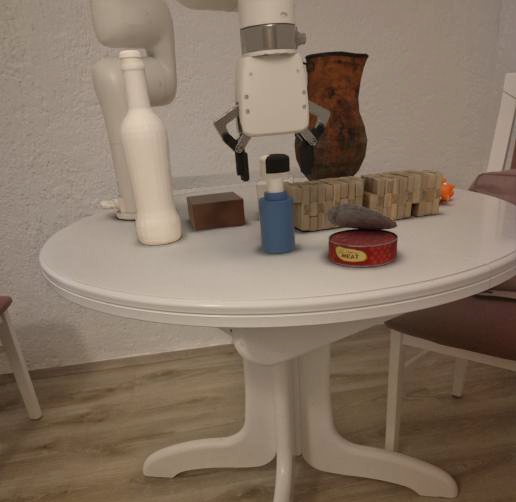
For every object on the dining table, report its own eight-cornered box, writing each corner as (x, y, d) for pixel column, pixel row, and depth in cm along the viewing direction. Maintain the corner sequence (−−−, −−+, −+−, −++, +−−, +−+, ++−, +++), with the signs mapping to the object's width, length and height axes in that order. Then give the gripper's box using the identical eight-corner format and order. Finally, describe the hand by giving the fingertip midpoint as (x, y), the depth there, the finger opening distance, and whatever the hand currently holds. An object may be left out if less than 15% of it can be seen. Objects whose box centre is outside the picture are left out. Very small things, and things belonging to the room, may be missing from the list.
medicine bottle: (294, 210, 104) (292, 151, 98) (293, 218, 98) (291, 155, 92) (261, 212, 105) (258, 153, 99) (258, 219, 98) (254, 157, 93)
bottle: (190, 234, 91) (165, 49, 77) (169, 246, 84) (138, 46, 70) (152, 234, 93) (122, 54, 80) (129, 245, 87) (92, 51, 73)
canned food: (326, 285, 74) (306, 224, 74) (382, 268, 77) (363, 208, 76) (359, 271, 63) (335, 199, 63) (423, 251, 66) (400, 181, 65)
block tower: (416, 211, 99) (281, 224, 93) (420, 168, 95) (280, 178, 89) (438, 218, 92) (294, 233, 86) (444, 172, 88) (294, 184, 82)
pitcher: (372, 198, 111) (378, 45, 97) (280, 205, 111) (272, 54, 97) (358, 186, 125) (361, 53, 112) (276, 193, 126) (270, 60, 112)
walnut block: (195, 230, 93) (192, 204, 91) (189, 220, 102) (186, 196, 100) (245, 224, 95) (243, 198, 93) (235, 215, 104) (233, 191, 102)
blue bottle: (266, 255, 75) (262, 182, 70) (258, 247, 80) (253, 177, 75) (299, 250, 76) (297, 178, 71) (289, 242, 81) (286, 174, 76)
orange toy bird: (411, 170, 105) (442, 177, 95) (440, 178, 108) (472, 186, 97) (403, 193, 107) (432, 202, 97) (431, 201, 110) (462, 211, 99)
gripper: (318, 45, 70) (320, 168, 78) (201, 52, 67) (215, 180, 75) (338, 37, 64) (339, 173, 71) (210, 44, 60) (224, 186, 68)
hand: (275, 176), depth 73 cm, fingers open, 9 cm apart
